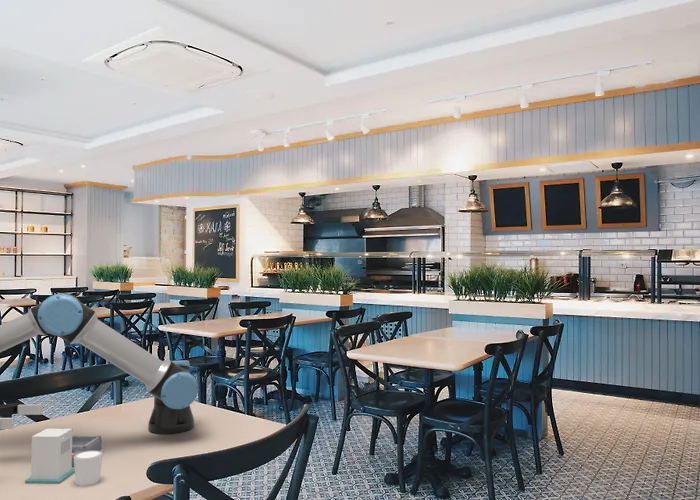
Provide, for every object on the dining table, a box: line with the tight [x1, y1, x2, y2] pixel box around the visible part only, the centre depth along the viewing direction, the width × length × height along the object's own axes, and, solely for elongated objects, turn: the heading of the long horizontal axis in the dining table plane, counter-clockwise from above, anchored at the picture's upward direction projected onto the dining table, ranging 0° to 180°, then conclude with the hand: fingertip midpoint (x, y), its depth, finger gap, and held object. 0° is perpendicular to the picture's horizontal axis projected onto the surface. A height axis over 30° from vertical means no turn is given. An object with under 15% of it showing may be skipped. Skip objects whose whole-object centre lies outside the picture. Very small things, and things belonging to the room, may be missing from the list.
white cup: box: [73, 450, 104, 487], centre depth 143 cm, size 7×7×7 cm
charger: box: [30, 428, 73, 480], centre depth 147 cm, size 8×7×11 cm
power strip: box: [72, 435, 103, 468], centre depth 166 cm, size 10×24×4 cm, turn 0°
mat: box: [24, 467, 75, 484], centre depth 146 cm, size 9×9×1 cm
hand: (27, 416), depth 150 cm, fingers open, 13 cm apart
